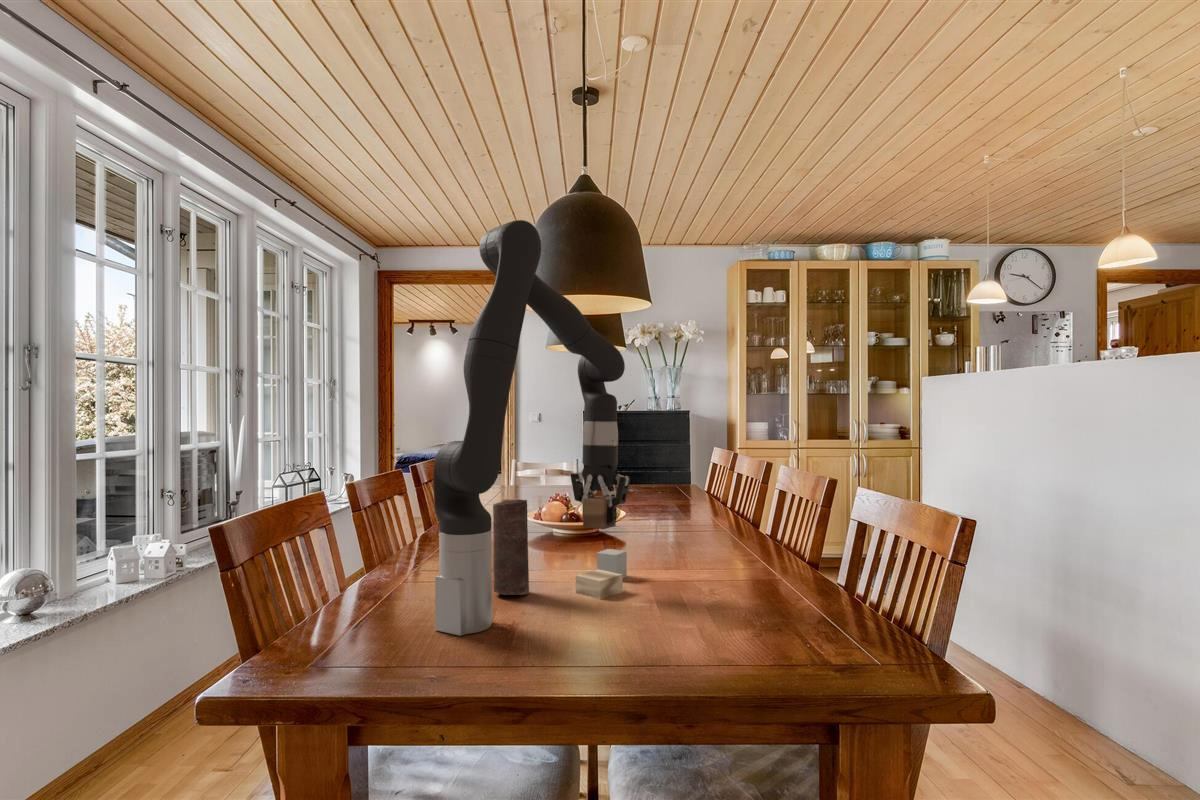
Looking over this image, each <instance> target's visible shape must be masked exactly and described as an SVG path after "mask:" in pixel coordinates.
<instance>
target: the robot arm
mask: <svg viewBox="0 0 1200 800" xmlns="http://www.w3.org/2000/svg"><path fill="white" fill-rule="evenodd" d="M478 247H479V249H478V251H479V254H480V257H481V260H482V262H483V264H484V265H485V267H487V268H488V270H489V271H490V272H491V273H493V275H494V276H495V281H494V285H493V287H492V290H491V292H490V295H489V296H488V298H487V300H486V301H485V304H484V305H483V307H482V308H481V310H480V313H479V314H478V316H477V318H476V319H475V322H474V324H473V325H472V328H471V331H470V333H469V337H468V340H467V345H466V350H465V356H464V360H463V376H464V377H463V378H464V384H465V388H466V394H467V399H468V417H467V418H468V419H467V424H466V428H465V433H464V437H463V440H453V441H449V442H447V443H445V444H444V445H443V446H441V447H440V449H438V451H437V453H436V455H435V459H434V463H433V469H432V470H433V473H432V474H433V476H432V477H433V478H432V481H433V503H434V504H433V505H434V512H435V516H436V519H437V520H438V527H439V528H438V530H439V532H438V533H439V534H438V535H439V537H438V541H439V544H438V545H439V546H438V547H439V550H438V555H439V557H438V559H439V561H438V563H439V565H438V567H439V568H438V569H439V571H438V572H439V574H437V575H436V576H435V578H434V580H435V582H434V598H435V599H434V601H435V603H434V605H435V606H434V608H435V609H434V616H435V617H434V620H435V622H434V630H435V631H437V632H442V633H446V634H451V635H453V636H454V635H456V636H459V637H461V636H465V635H469V634H475V633H479V632H483V631H486V630H488V629H489V628H491V626H492V624H493V622H492V621H493V617H492V615H493V614H492V613H493V609H492V607H493V605H492V603H493V602H492V601H493V600H492V599H493V597H492V594H493V593H492V592H493V591H492V590H493V588H492V587H493V585H492V582H493V581H492V578H493V577H492V515H491V514H490V512H489V511H488V510H487V509H486V508H485V507H484V506H483V503H482V502H481V498H480V495H481V494H484V493H486V492H488V491H489V490H490V489H491V488H492V487H493V486H494V484H495V483H496V481H497V479H498V476H499V473H500V468H501V463H502V453H503V452H502V451H503V440H504V431H505V429H504V428H505V420H506V415H507V409H508V404H509V397H510V391H511V385H512V380H513V375H514V372H515V367H516V363H517V358H518V352H519V347H520V340H521V335H522V330H523V325H524V320H525V315H526V309H527V306H528V307H529V308H530V309H532V310H533V312H534V313H535V314H536V315H538V316H539V318H540V319H541V320H542V321H543V322H544V323H545V325H546V326H547V328H549V329H550V330H551V332H552V334H553V335H555V337H556V339H558V341H560V343H561V344H562V345H563V347H564V348H565V350H567V351H568V352H569V353H572V354H574V355H579V356H581V357H580V358H579V360H578V364H577V376H578V377H577V378H578V382H579V386H580V390H581V394H582V398H583V401H584V402H583V403H584V408H583V421H584V422H583V428H582V461H581V462H582V465H583V469H582V470H581V472H574V473H571V474H570V481H571V487H572V491H573V497H574V498H573V499H574V500H575V501H576V502H580V503H581V504H582V506H583V498H589V497H595V495H596V494H597V491H599V492H601V493H602V497H605V498H606V500H607V505H608V507H607V525H613V524H614V523H615V522H617V519H618V518H617V515H618V514H617V510H618V509H617V508H618V506H620V505H623V504H625V503H626V500H627V497H628V493H629V487H630V483H631V477H630V476H629V475H625V476H624V475H621V474H620V473H619V472H618V468H617V467H618V463H619V460H618V459H619V457H618V455H619V430H618V429H619V428H618V400H617V397H616V396H615V395H613V394H611V393H608V391H607V388H606V386H605V385H606V384H605V383H611V382H615V381H618V380H620V379H621V378H622V376H623V375H624V372H625V369H626V367H625V366H626V365H625V359H624V357H623V355H622V354H621V352H620V350H619V349H618V348H617V347H616V346H615V345H614V344H613V343H611V341H609V340H608V339H607V338H606V337H604V336H603V335H602V334H601V333H599V332H598V331H596V330H595V329H594V328H593V326H592V325H591V324H590V322H589V321H588V319H587V318H586V317H585V316H584V314H583V313H582V312H581V310H580V309H579V308H578V307H577V306H576V305H575V304H574V303H573V302H572V301H570V299H568V298H566V296H564V295H563V294H562V293H560V292H558V291H556V290H555V289H554V288H552V287H551V286H550V285H548V284H547V283H546V282H545V281H544V280H542V278H540V276H538V275H537V274H536V273H537V269H538V267H539V263H540V259H541V255H542V241H541V237H540V233H539V232H538V229H537V228H536V227H535V226H534V225H533V223H531V222H530V221H527V220H523V219H519V220H512V221H508V222H506V223H504V224H501V225H498V226H497V227H494V228H492V229H489V230H488V231H487V232H486V233H484V234H483V235H482V237H481V239H480V241H479V246H478ZM583 482H585V485H584V483H583ZM615 483H616V484H617V490H616V487H615Z"/></svg>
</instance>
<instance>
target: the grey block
mask: <svg viewBox="0 0 1200 800" xmlns="http://www.w3.org/2000/svg"><path fill="white" fill-rule="evenodd" d="M627 558H628V554H627V550H622V549H621V550H619V549H612V548H607V549H604V550H601V551H598V552H596V570H597V569H599V570H604V571H609V572H613V573H618V574H622V580H623V579H625V578H627V577H628V575H627V574H628V573H627V572H628V571H627V570H628V568H627V567H628V561H627Z"/></svg>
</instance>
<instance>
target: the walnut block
mask: <svg viewBox="0 0 1200 800" xmlns="http://www.w3.org/2000/svg"><path fill="white" fill-rule="evenodd" d="M607 507H608V505H607V500H606V498H605V497H604V496H598V495H597V496H595V495H594V497H589V498H583V505H582V528H589V529H596V530H597V529H598V530H607V529H611V528H614V527H616V525H617V524H616V522H617V521H616V522H615V523H614V524H613V525H607Z"/></svg>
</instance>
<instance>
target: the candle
mask: <svg viewBox="0 0 1200 800" xmlns="http://www.w3.org/2000/svg"><path fill="white" fill-rule="evenodd" d="M492 512H493V513H492V515H493V521H492V522H493V523H492V524H493V526H492V528H493V529H492V531H493V532H492V533H493V538H492V539H493V541H492V542H493V592H495V593H496V594H499V595H503V596H513V595H516V596H517V595H519V596H527V595H529V593H530V581H529V580H530V579H529V578H530V575H529V574H530V571H529V570H530V569H529V568H530V567H529V535H528V534H529V533H528V531H529V530H528V526H529V525H528V500H527V499H501V501H500V502H497V503H493V505H492Z"/></svg>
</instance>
